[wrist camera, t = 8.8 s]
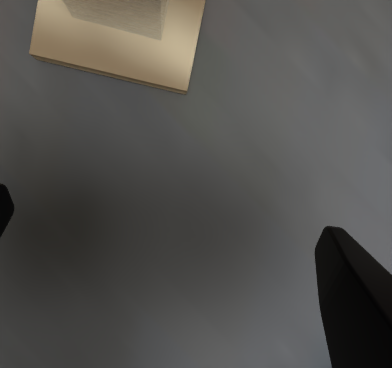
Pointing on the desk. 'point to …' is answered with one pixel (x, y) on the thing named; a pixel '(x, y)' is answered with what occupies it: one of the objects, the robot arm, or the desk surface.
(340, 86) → the desk surface
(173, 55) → the stand
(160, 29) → the grey tall block
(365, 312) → the robot arm
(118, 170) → the desk surface
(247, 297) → the desk surface
